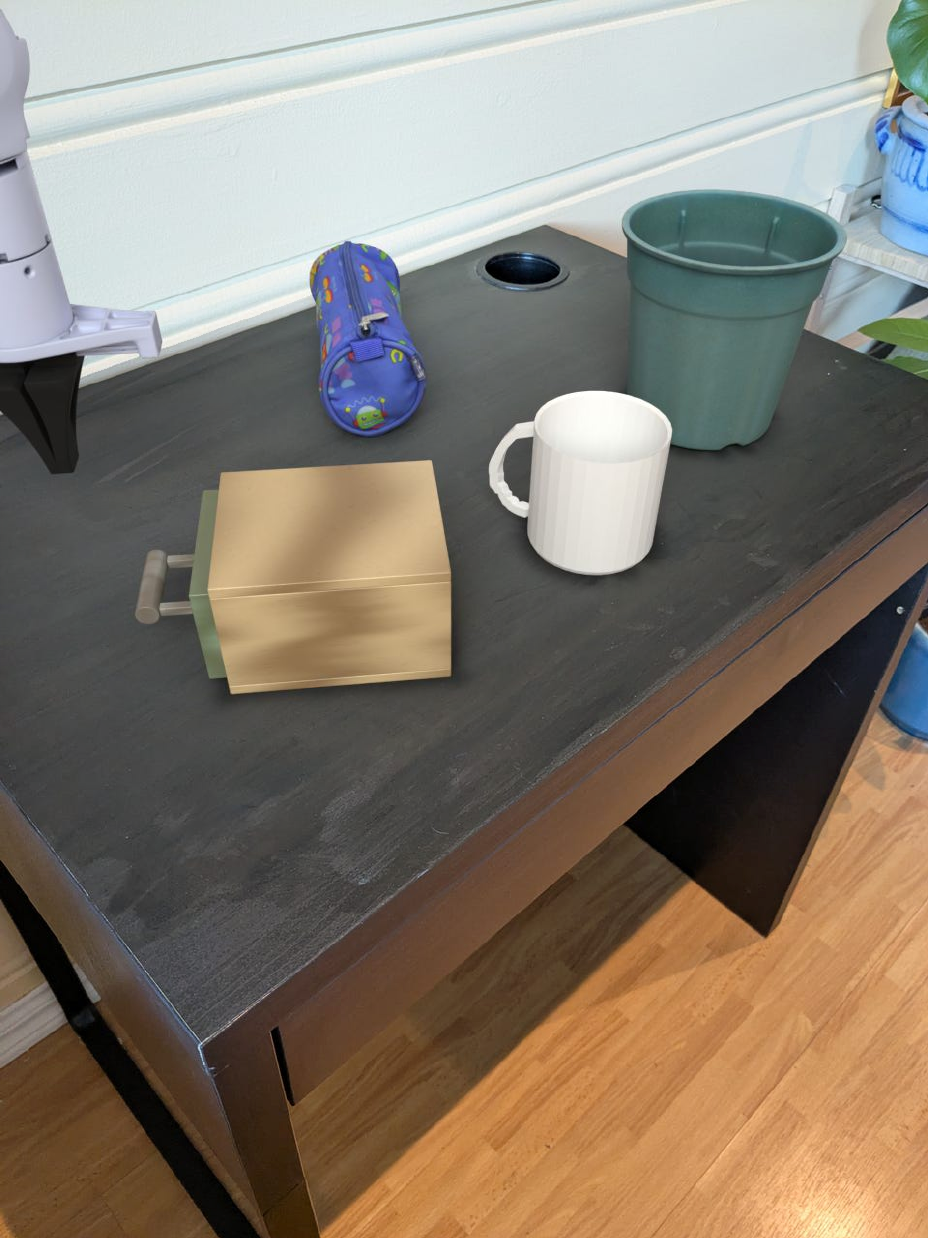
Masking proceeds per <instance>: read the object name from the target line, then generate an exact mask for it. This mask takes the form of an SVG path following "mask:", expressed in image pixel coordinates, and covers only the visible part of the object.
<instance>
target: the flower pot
mask: <svg viewBox="0 0 928 1238" xmlns="http://www.w3.org/2000/svg"><path fill="white" fill-rule="evenodd" d="M621 230H622V233H623V235H624V237H625V239H626V274H627V278H628V280H629V283H630V285H629V319H628V320H629V321H628V349H627V350H628V353H627V382H626V383H627V385H626V395H630V396H633V397H636V398H639V399H641V400H643V401H645V402H648V403H650V404H651V405H653V406H654V407H656V408H657V409H659V410H660V411H661V412H662V413H663V414H664V415H665V416H666V417H667V419H668V420H669V422H670V424H671V428H672V435H671V441H670V445H672V446H675V447H678V448H679V447H680V448H683V449H689V450H700V451H721V450H722V449H723V448H725V447H727V446H729V445H734V444H737V445H739V446H741V447H742V446H746V445H749V444H752V443H754V442H755V441H757V440H758V439H760V438H761V437H762V436H763V435H764V434H765V433H766V432H767V430H768V429H769V427H770V425H771V423H772V420H773V417H774V414H775V411H776V409H777V405H778V402H779V399H780V397H781V394H782V391H783V388H784V385H785V383H786V379H787V377H788V374H789V371H790V368H791V366H792V362H793V360H794V357H795V354H796V351H797V348H798V345H799V343H800V339H801V337H802V334H803V332H804V329H805V327H806V324H807V322H808V318H809V315H810V313H811V310H812V307H813V304H814V302H815V301H816V300H817V299H818V297H820V295H821V293H822V290H823V288H824V285H825V282H826V280H827V277H828V275H829V271H830V269H831V267H832V263H833V261H834V260H835V259H836V258H837V257H839V256H840V254H841V253H842V252H843V250H844V249H845V247H846V244H847V243H848V242H847V241H848V234H847V232H846V230H845V228H844V227H843V226H842V224H840V222H839V221H838V220H837V219H836V218H834V217H832V216H831V215H830V214H828V213H826V212H825V211H822V210H820V209H818V208H816V207H813V206H811V205H808V204H805V203H802V202H800V201H796V200H792V199H789V198H785V197H782V196H777V195H776V196H775V195H771V194H766V193H759V192H754V191H744V190H736V189H735V190H734V189H713V188H712V189H709V188H708V189H688V190H679V191H671V192H667V193H663V194H659V195H655V196H651V197H648V198H646V199H644V200H640V201H639V202H637V203H635V204H633V205H632V206H630V207H629V208H628V209H627V210H626V211H625V212H624V213H623V216H622V218H621Z"/></svg>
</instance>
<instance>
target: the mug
mask: <svg viewBox="0 0 928 1238" xmlns="http://www.w3.org/2000/svg"><path fill="white" fill-rule="evenodd" d="M671 435H672V428H671V424H670V422H669V420H668V419H667V417H666V416H665V415H664V414H663V413H662V412H661V411H660V410H659V409H657V408H656V407H654V406H653V405H651V404H650V403H648V402H645V401H643V400H641V399H639V398H636V397H633V396H630V395H627V394H625V393H620V392H616V391H615V392H614V391H606V390H585V391H576V392H572V393H566V394H563V395H560V396H557V397H555V398H553V399H551V400H549V401H547V402H546V403H545V404H543V405H542V406H541V407H540V408H539V409H538V411H537V412H536V414H535V417H534V420H533V421H526V422H520V423H516V424H515V425H514V426H513V427H512V428H511V429H510V430H509V431H508V432H507V433H506V434H505V435H503V438H502V439H501V441H500V442H499V444H498V445H497V447H496V448H495V450H494V453H493V454H492V457H491V459H490V461H489V463H488V464H489V465H488V474H489V487H490V488H491V489H492V491H493V492H494V494H497V497H498V499H499V501H500V503H501V505H502V506H504V507H505V508H506V509H507V510H508V511H510V512H511V513H513V514H515V515H516V516H518V517H521V518H524V519H525V518H527V524H526V525H527V526H526V527H527V528H526V530H527V531H526V532H527V537H528V540H529V544H530V545H531V546H532V548H533V549H534V551H535V552H536V553H537V555H539V556H540V558H542V559H543V560H544V561H546V562H547V563H549V564H551V565H552V566H554V567H556V568H559V569H560V570H563V571H566V572H570V573H574V574H579V575H586V576H604V575H613V574H616V573H621V572H624V571H626V570H628V569H632V568H633V567H634V566H635V565H637V564H639V563H640V562H641V561H642V560H643V559H644V558H645V557H646V556H647V555H648V554H649V552H650V550H651V549H652V546H653V543H654V537H655V530H656V525H657V520H658V514H659V508H660V502H661V499H662V498H661V497H662V491H663V485H664V480H665V474H666V469H667V464H668V458H669V452H670V446H671V444H670V441H671ZM532 437H533V438H532ZM525 438H532V448H531V449H532V450H531V464H530V465H531V467H530V480H529V495H528V502H526V501H523V500H521V501H520V499H519V498H518V497H517V496H516V495H513V491H512V490H510V488H509V485H508V483H507V482H506V481H505V472H504V462H505V458H506V454H507V451H508V449H509V447H510V446H511V445H512V444H513V443H514V442H515V441H516V440H518V439H525Z"/></svg>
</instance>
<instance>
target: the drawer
mask: <svg viewBox="0 0 928 1238" xmlns="http://www.w3.org/2000/svg"><path fill="white" fill-rule="evenodd" d="M218 493H219V488H218V489H205V490H202V496H201V503H200V511H199V518H198V523H197V524H198V525H197V533H196V540H195V547H194V553H187V554H175V555H168V554H167V552H165V551H164V550H161V549H152V550H150V551H148V552H147V553H146V555H145V560H144V566H143V570H142V575H141V582H140V586H139V592H138V597H137V601H136V607H135V613H134V616H135V618H136V620H137V622H139V623H141V624H143V625H154V624H155V623H157V622H158V621H159V620H160V618H161V617H169V616H181V615H183V616H184V615H193V618H194V623H195V627H196V632H197V636H198V639H199V644H200V648H201V651H202V655H203V659H204V660H203V661H204V664H205V667H206V672H207V676H208V679H211V680H212V679H224V678H226V679H227V674H226V670H225V666H224V661H223V657H222V652H221V648H220V644H219V639H218V635H217V631H216V626H215V622H214V617H213V613H212V609H211V604H210V600H209V595H208V591H207V588H208V579H209V570H210V562H211V553H212V545H213V536H214V527H215V519H216V510H217V501H218ZM182 568H191V577H190V584H189V590H188V598H189V600H184V601H171V602H170V601H169V602H168V601H167V602H163V600H164V593H165V589H166V588H165V586H166V581H167V576H168V569H182ZM160 616H161V617H160Z"/></svg>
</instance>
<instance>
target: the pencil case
mask: <svg viewBox="0 0 928 1238" xmlns="http://www.w3.org/2000/svg"><path fill="white" fill-rule="evenodd" d="M399 272H400V271H399V269H398V267H397V265H396V263H395V261H394V260H393V258H392V257H391V256H390V255H389V254H388V253H387V252H385V251H384V250H382V249H380V248H379V247H376V246H374V245H369V244H366V243H360V242H359V243H356V242H352V241H351V240H344V242H343V243H341V244H337V245H336V246H333V247H331V248H329V249H327V250H325V251H324V252H323V253H321V254H320V255H318V257H317V258H316V259H314V261H313V263H312V266H311V268H310V271H309V288H310V292H311V296H312V299H313V300H314V303H315V317H316V318H315V319H316V325H317V326H316V327H317V331H318V336H319V337H318V338H319V362H320V370H319V371H320V372H319V375H318V396H319V399H320V402H321V404H322V406H323V409H324V411H325V412H326V414H327V416H328V418H329V419H330V420H331V421H332V422H333V423H334V424H335V425H337V426H338V427H339V428H341V429H342V430H344V431H346V432H348V433H350V434H354V435H356V436H357V435H358V436H361V437H364V438H372V437H377V436H381V435H383V434H385V433H387V432H390V431H392V430H393V429H395V428H397V427H399V426H401V425H402V424H404V423H406V421H408V420H409V419H410V418H411V417H412V416H413V415H414V413H415V412H416V411H417V410H418V408H419V407H420V405H421V403H422V401H423V399H424V396H425V392H426V388H427V373H426V366H425V363H424V361H423V358H422V355H420V353H419V352H418V350H417V349H416V348H415V346H414V344H413V340H412V336H411V334H410V332H409V330H408V329H407V327H406V325H405V323H404V322H403V320H402V319H403V314H402V313H403V311H402V304H401V297H400V293H401V276H400V273H399Z"/></svg>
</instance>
